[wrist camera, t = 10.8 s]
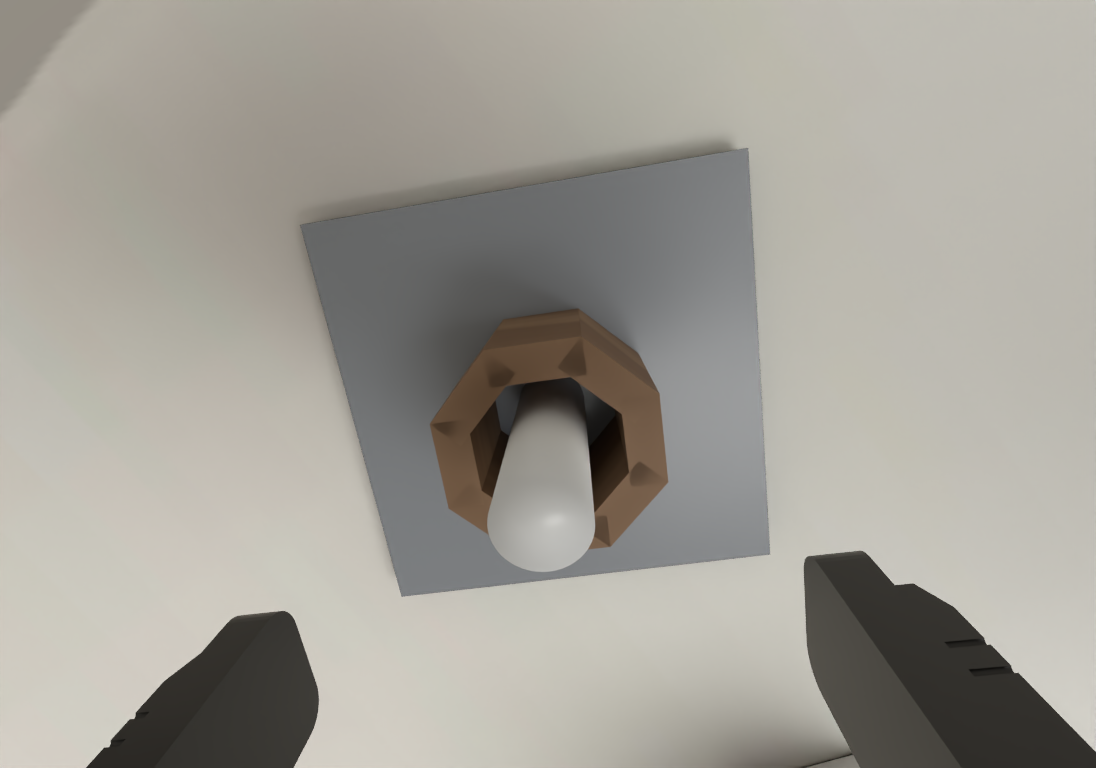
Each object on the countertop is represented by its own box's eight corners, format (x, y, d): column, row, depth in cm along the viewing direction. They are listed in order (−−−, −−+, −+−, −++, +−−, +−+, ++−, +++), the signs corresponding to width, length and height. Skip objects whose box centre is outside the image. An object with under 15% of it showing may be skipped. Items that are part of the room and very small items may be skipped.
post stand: (738, 151, 17) (905, 84, 9) (760, 539, 21) (892, 757, 13) (314, 224, 18) (91, 228, 10) (408, 580, 22) (308, 807, 14)
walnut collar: (632, 300, 18) (653, 325, 14) (650, 469, 19) (674, 540, 15) (451, 326, 18) (414, 359, 14) (484, 489, 20) (460, 563, 16)
